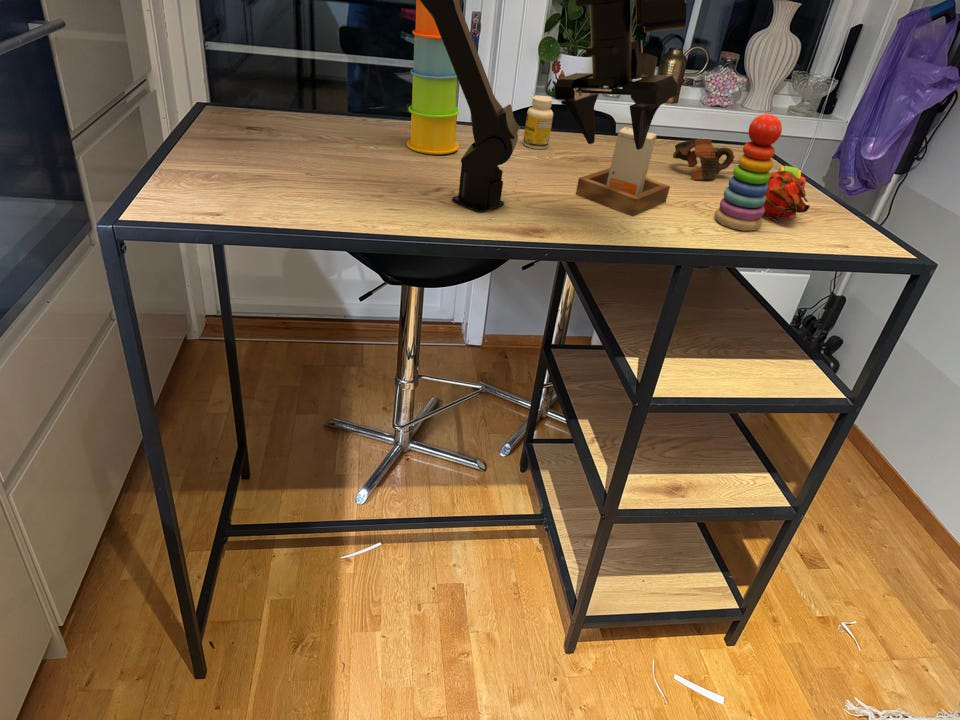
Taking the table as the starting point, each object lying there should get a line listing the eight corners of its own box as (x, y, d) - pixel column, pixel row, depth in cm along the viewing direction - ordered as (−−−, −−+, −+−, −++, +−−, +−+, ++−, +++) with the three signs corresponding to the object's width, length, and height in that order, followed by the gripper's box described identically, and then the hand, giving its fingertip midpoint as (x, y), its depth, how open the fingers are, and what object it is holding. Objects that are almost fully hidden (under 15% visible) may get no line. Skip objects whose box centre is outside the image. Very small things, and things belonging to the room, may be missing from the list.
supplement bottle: (519, 141, 151) (525, 94, 146) (542, 142, 153) (549, 95, 148) (527, 149, 147) (535, 101, 142) (551, 150, 149) (559, 102, 143)
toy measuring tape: (763, 206, 134) (775, 172, 130) (762, 177, 149) (772, 146, 146) (798, 214, 132) (811, 180, 129) (793, 183, 148) (804, 152, 145)
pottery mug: (678, 182, 142) (674, 140, 141) (670, 188, 151) (667, 149, 151) (740, 174, 141) (737, 132, 140) (728, 181, 150) (725, 142, 149)
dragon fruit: (764, 208, 137) (782, 243, 128) (738, 181, 133) (755, 216, 124) (804, 179, 132) (825, 213, 123) (778, 150, 128) (799, 184, 120)
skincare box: (602, 197, 128) (617, 130, 121) (609, 191, 131) (623, 125, 125) (635, 206, 126) (651, 138, 119) (641, 199, 129) (657, 133, 123)
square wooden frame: (575, 194, 128) (578, 178, 126) (631, 174, 141) (635, 159, 139) (632, 216, 122) (636, 199, 120) (685, 193, 135) (689, 178, 133)
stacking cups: (424, 158, 135) (439, -51, 116) (397, 142, 141) (406, -58, 122) (468, 153, 140) (489, -47, 121) (439, 137, 147) (455, -54, 128)
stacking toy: (724, 211, 129) (757, 105, 119) (766, 225, 125) (804, 117, 115) (706, 221, 124) (739, 111, 113) (749, 236, 120) (788, 124, 110)
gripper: (700, 25, 100) (697, 137, 107) (595, 28, 112) (599, 128, 120) (653, 40, 94) (654, 157, 101) (548, 41, 106) (556, 146, 114)
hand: (614, 146), depth 109 cm, fingers open, 9 cm apart
